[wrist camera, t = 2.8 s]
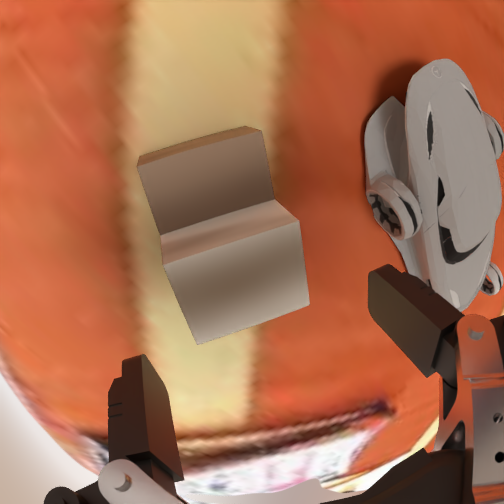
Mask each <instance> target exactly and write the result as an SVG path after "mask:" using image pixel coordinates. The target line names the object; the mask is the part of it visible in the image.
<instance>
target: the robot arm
mask: <svg viewBox="0 0 504 504" xmlns="http://www.w3.org/2000/svg"><path fill="white" fill-rule="evenodd" d="M368 309H369V312H370V314H371V316H372V318H373V319H374V321H375V322H376V323H377V324H378V325H379V326H380V327H381V328H382V329H383V330H384V331H385V333H386V334H387V335H388V336H389V337H390V338H391V339H392V340H393V341H394V342H395V343H396V344H397V346H398V347H399V348H400V349H401V350H402V351H403V352H404V353H405V354H406V355H407V357H408V358H409V359H410V360H411V361H412V362H413V363H414V364H415V365H416V366H417V368H418V369H419V370H420V371H421V372H422V373H423V374H424V375H425V377H426V378H427V377H429V376H430V375H432V374H433V373H435V372H436V371H437V372H438V373H439V374H440V378H439V427H438V432H437V435H436V439H435V444H434V451H433V452H430V453H427V452H426V451H425V449H424V448H422V449H421V450H419V451H418V452H416V453H415V454H413V455H411V456H410V457H408V458H407V459H405V460H403V461H402V462H400V463H399V464H397V465H395V466H394V467H392V468H391V469H390V470H389V471H388V472H387V473H386V474H385V475H384V476H383V477H382V478H380V479H379V480H378V481H377V482H376V483H375V484H374V485H372V486H371V487H370V488H369V489H368V490H367V491H365V492H364V493H362V494H360V495H356V496H352V497H348V498H344V499H339V500H335V501H330V502H325V503H320V504H504V315H503V316H500V317H497V318H494V319H491V320H488V319H487V318H485V317H483V316H481V315H477V314H470V315H466V316H465V315H464V314H462V313H461V312H460V311H459V310H458V309H456V308H455V307H454V306H453V305H452V304H450V303H449V302H448V301H447V300H446V299H444V298H443V297H442V296H441V295H439V294H438V293H435V291H434V290H433V289H432V288H431V287H429V286H427V284H426V283H424V282H423V281H422V280H421V279H419V278H418V277H416V276H414V275H411V274H408V273H406V272H403V273H401V272H399V271H398V270H397V269H395V268H394V267H393V266H392V265H390V264H387V265H384V266H382V267H380V268H378V269H375V270H373V271H371V272H370V273H369V275H368ZM108 406H109V408H108V417H109V419H108V445H109V463H108V464H107V465H106V466H105V467H104V468H103V469H102V470H101V472H100V474H99V478H98V481H96V482H95V483H93V484H91V485H89V486H86V487H84V488H82V489H80V490H78V491H76V492H74V491H72V490H70V489H69V488H66V487H56V488H54V489H52V490H51V491H50V492H49V493H48V494H47V495H46V498H45V500H44V504H189V503H188V502H187V501H185V500H184V499H183V498H181V497H180V496H179V495H177V493H176V489H175V484H174V482H178V481H183V480H184V476H183V471H182V467H181V462H180V457H179V452H178V447H177V442H176V436H175V431H174V425H173V420H172V414H171V407H170V401H169V396H168V392H167V390H166V387H165V385H164V383H163V381H162V380H161V378H160V377H159V375H158V374H157V372H156V371H155V369H154V367H153V366H152V364H151V363H150V361H149V360H148V358H147V357H146V355H144V354H142V355H139V356H135V357H132V358H129V359H125V360H123V361H122V377H119V378H116V379H114V380H113V383H112V385H111V387H110V390H109V392H108Z"/></svg>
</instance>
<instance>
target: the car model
mask: <svg viewBox="0 0 504 504" xmlns="http://www.w3.org/2000/svg"><path fill="white" fill-rule="evenodd" d="M364 146H365V163H366V196H367V199H368V202H369V204H370V203H371V206H372V210H373V213H374V218H375V220H376V221H377V222H378V224H379V225H380V226H381V227H382V228H383V230H384V231H386V232H387V233H388V234H389V236H390V237H391V239H392V240H393V242H394V243H395V245H396V246H397V248H398V249H399V251H400V252H401V254H402V256H403V259H404V262H405V264H406V267H407V270H408V273H409V274H411V275H414V276H416V277H418V278H419V279H421V280H422V281H423V282H424V283H426V284H427V286H429V287H431V288H432V289H433V290H434V291H435V293H438V294H439V295H441V296H442V297H443V298H444V299H446V300H447V301H448V302H449V303H450V304H452V305H453V306H454V307H455V308H456V309H458V310H459V311H460V312H462V311H463V310H465V309H466V308H467V307H468V306H469V305H470V303H471V302H472V301H473V299H474V298H475V296H476V295H477V293H478V292H479V290H481V291H482V292H483V293H485V294H487V295H489V296H491V295H494V294H497V293H498V292H499V290H500V289H501V287H502V285H503V276H502V274H501V271H500V269H499V268H498V267H497V266H496V264H494V263H492V262H491V261H490V258H491V253H492V248H493V242H494V235H495V222H496V220H497V218H498V216H499V214H500V210H501V203H502V195H501V183H500V178H499V173H498V168H497V164H496V160H497V159H499V157H500V155H501V154H502V152H503V150H504V133H503V131H502V129H501V126H500V125H499V124H498V122H497V121H496V120H495V118H493V117H492V116H490V115H489V114H487V113H486V112H484V111H482V110H481V107H480V105H479V102H478V100H477V97H476V95H475V92H474V90H473V87H472V85H471V83H470V81H469V80H468V78H467V76H466V75H465V73H464V72H463V70H462V69H461V68H460V67H459V66H458V65H457V64H456V63H454V62H453V61H452V60H449V59H440V60H434V61H432V62H430V63H429V64H427V65H425V66H423V67H422V68H421V69H420V70H419V71H418V72H416V73H415V74H414V75H413V77H412V78H411V80H410V82H409V84H408V89H407V92H406V104H405V106H403V105H402V104H401V103H400V102H399V101H398V100H397V99H396V98H395V97H394V96H391V97H390V98H388V99H387V100H386V101H385V102H384V103H383V104H381V106H380V107H379V108H378V109H377V110H376V111H375V113H374V114H373V115H372V116H371V118H370V119H369V120H368V122H367V125H366V130H365V136H364ZM445 253H446V254H445ZM470 254H471V255H470ZM486 274H487V275H488V276H489V278H490V279H491V281H492V282H490V281H489V280H488V279H487V278H486V277H485V276H486Z"/></svg>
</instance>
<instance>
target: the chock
mask: <svg viewBox="0 0 504 504" xmlns="http://www.w3.org/2000/svg"><path fill="white" fill-rule="evenodd" d="M137 169H138V172H139V175H140V178H141V181H142V184H143V187H144V190H145V193H146V196H147V199H148V202H149V205H150V208H151V211H152V214H153V217H154V219H155V222H156V225H157V228H158V231H159V233H160V239H161V250H162V261H163V267H164V269H165V272H166V274H167V277H168V279H169V281H170V284H171V286H172V289H173V291H174V293H175V296H176V298H177V301H178V303H179V305H180V308H181V310H182V312H183V314H184V317H185V319H186V321H187V323H188V326H189V328H190V330H191V332H192V335H193V337H194V339H195V341H196V343H197V345H199V344H202V343H205V342H208V341H211V340H214V339H217V338H220V337H223V336H226V335H229V334H232V333H235V332H238V331H241V330H243V329H246V328H249V327H252V326H255V325H258V324H260V323H263V322H266V321H269V320H271V319H274V318H277V317H279V316H282V315H285V314H287V313H290V312H293V311H295V310H298V309H301V308H303V307H306V306H308V305H310V302H309V293H308V285H307V276H306V268H305V260H304V252H303V245H302V237H301V230H300V223H299V220H298V219H297V218H295V217H294V216H293V215H292V214H291V213H290V212H289V211H288V210H286V209H285V208H284V207H283V206H282V205H281V204H279V203H278V202H277V201H276V200H275V198H274V193H273V187H272V182H271V177H270V171H269V166H268V161H267V156H266V150H265V145H264V140H263V135H262V131H261V130H257V129H254V128H251V127H247V126H243V127H239V128H235V129H231V130H227V131H223V132H219V133H215V134H212V135H208V136H204V137H201V138H197V139H194V140H190V141H187V142H183V143H180V144H177V145H174V146H170V147H167V148H164V149H161V150H158V151H155V152H152V153H149V154H146V155H143V156H140V157H139V161H138V165H137Z"/></svg>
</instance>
